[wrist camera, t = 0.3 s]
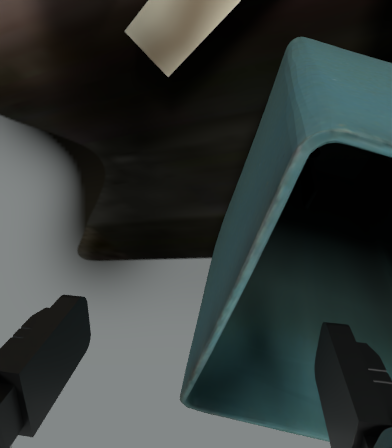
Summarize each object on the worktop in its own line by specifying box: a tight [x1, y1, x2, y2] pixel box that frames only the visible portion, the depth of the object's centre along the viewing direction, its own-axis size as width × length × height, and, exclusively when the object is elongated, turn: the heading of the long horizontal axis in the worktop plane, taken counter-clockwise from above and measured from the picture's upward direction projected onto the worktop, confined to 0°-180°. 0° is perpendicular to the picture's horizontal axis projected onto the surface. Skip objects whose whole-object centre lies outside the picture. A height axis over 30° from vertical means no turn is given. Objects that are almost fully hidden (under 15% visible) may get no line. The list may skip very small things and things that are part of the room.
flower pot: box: [180, 37, 392, 442], centre depth 26 cm, size 20×20×28 cm
